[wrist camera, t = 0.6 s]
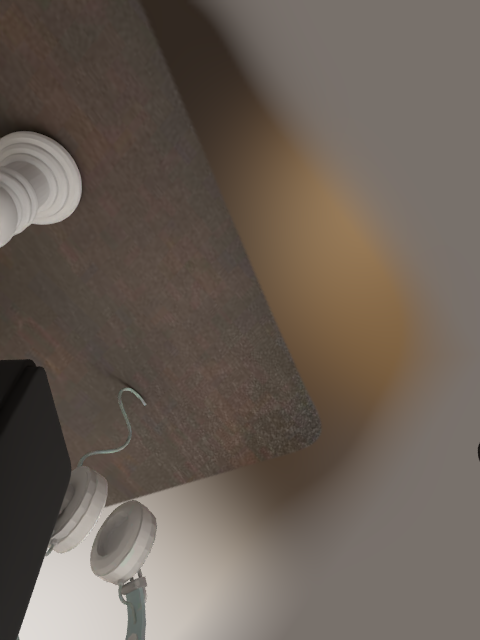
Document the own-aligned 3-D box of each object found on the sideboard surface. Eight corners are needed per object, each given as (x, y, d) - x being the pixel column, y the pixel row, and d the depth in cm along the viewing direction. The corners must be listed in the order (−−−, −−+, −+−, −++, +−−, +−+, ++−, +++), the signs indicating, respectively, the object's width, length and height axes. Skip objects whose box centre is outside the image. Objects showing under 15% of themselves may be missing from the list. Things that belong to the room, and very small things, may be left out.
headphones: (76, 371, 34) (-74, 694, 17) (114, 343, 33) (-7, 659, 16) (152, 433, 37) (91, 754, 20) (188, 410, 36) (157, 729, 19)
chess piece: (-7, 211, 28) (-97, 271, 20) (-11, 119, 25) (-116, 147, 17) (81, 229, 28) (28, 293, 21) (86, 142, 26) (28, 178, 18)
